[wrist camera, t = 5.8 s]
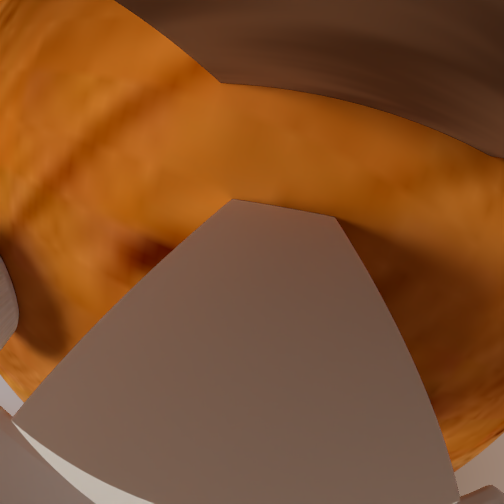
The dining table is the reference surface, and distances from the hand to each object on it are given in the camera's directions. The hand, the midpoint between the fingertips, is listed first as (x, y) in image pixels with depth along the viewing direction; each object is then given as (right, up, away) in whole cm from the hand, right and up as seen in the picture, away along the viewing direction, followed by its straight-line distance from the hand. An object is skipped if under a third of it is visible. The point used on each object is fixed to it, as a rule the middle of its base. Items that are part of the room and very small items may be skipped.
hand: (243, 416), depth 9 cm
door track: (+6, +21, -4) cm, 23 cm away
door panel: (+1, +1, +4) cm, 4 cm away
